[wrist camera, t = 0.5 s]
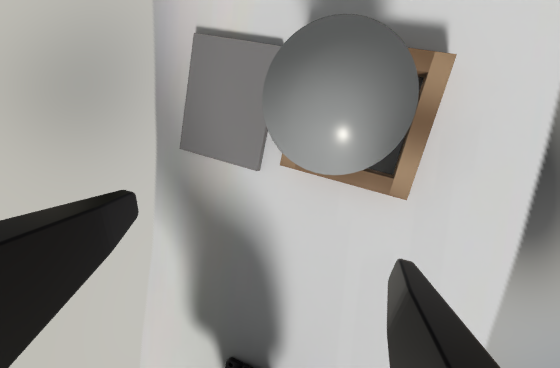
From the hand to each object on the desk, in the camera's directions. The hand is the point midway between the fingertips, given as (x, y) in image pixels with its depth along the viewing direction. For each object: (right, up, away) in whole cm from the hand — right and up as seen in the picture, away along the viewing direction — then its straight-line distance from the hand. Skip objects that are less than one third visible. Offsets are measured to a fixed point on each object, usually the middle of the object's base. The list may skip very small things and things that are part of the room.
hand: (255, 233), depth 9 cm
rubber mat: (-4, +9, +15) cm, 18 cm away
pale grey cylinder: (+7, +7, +12) cm, 15 cm away
